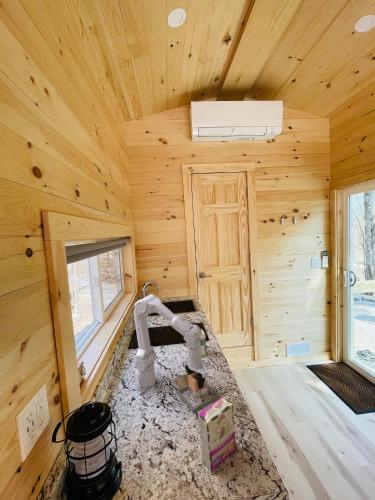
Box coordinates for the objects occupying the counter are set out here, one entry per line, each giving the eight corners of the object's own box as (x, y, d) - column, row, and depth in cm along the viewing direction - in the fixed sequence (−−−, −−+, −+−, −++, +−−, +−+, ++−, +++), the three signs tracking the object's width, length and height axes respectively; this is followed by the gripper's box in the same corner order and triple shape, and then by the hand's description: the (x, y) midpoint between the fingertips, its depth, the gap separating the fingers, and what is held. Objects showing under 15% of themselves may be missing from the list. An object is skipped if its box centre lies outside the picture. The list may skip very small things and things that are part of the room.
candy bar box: (225, 439, 81) (222, 395, 79) (236, 450, 76) (233, 404, 75) (200, 460, 74) (197, 413, 72) (211, 473, 70) (207, 423, 68)
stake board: (180, 390, 106) (179, 379, 106) (172, 382, 112) (171, 371, 112) (198, 381, 111) (197, 370, 111) (190, 374, 117) (189, 363, 117)
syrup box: (197, 359, 130) (195, 334, 129) (194, 354, 136) (192, 330, 134) (207, 357, 132) (205, 332, 130) (203, 352, 137) (201, 328, 136)
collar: (195, 393, 97) (194, 382, 96) (188, 386, 102) (187, 375, 101) (208, 386, 101) (208, 375, 100) (201, 379, 105) (200, 369, 105)
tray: (193, 415, 92) (193, 409, 92) (176, 395, 103) (176, 390, 103) (219, 399, 99) (219, 394, 99) (201, 382, 110) (201, 378, 110)
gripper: (212, 358, 95) (214, 389, 96) (193, 345, 107) (195, 372, 109) (198, 365, 91) (200, 397, 93) (179, 350, 104) (182, 378, 105)
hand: (196, 384), depth 100 cm, fingers closed on collar, 5 cm apart
